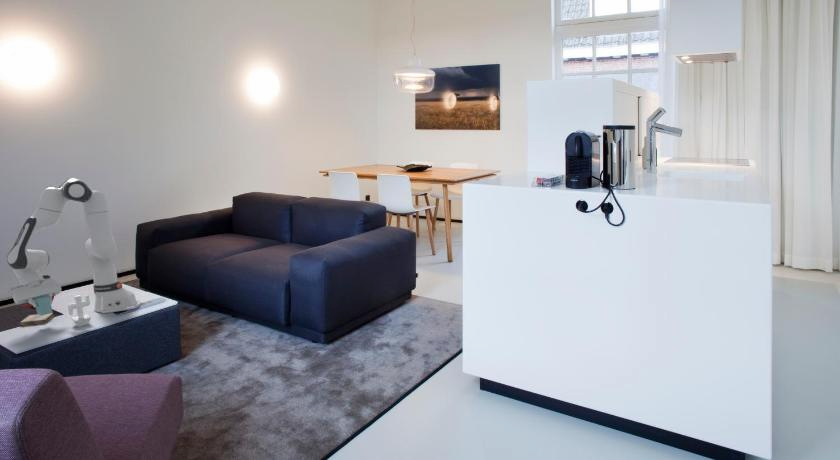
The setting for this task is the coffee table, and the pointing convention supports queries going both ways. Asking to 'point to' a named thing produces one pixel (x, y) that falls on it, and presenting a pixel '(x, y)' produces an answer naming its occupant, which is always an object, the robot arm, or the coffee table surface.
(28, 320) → the beige square slab
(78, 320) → the figurine
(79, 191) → the robot arm
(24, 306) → the decorative bird figurine
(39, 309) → the teal block
